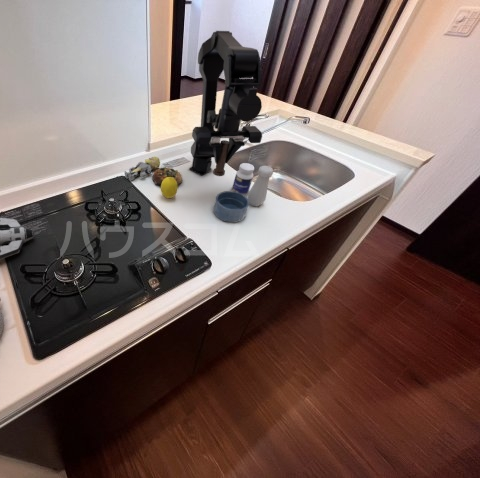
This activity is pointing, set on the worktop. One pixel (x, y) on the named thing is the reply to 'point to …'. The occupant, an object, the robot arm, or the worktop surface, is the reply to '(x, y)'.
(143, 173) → the toy
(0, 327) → the dish
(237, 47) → the robot arm
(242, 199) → the bowl
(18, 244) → the toy spacecraft
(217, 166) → the muddler
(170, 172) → the bread roll
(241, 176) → the pill bottle
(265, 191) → the salt shaker
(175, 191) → the lemon
